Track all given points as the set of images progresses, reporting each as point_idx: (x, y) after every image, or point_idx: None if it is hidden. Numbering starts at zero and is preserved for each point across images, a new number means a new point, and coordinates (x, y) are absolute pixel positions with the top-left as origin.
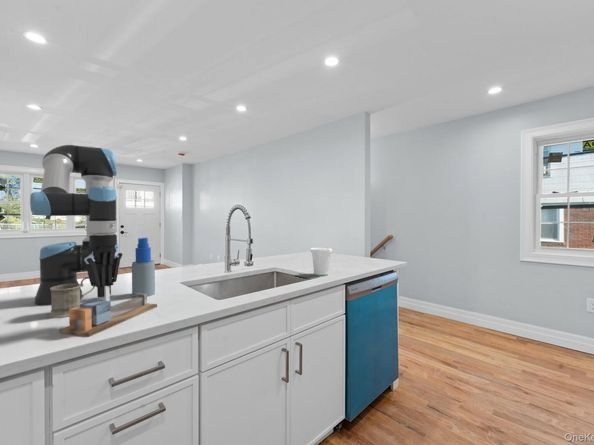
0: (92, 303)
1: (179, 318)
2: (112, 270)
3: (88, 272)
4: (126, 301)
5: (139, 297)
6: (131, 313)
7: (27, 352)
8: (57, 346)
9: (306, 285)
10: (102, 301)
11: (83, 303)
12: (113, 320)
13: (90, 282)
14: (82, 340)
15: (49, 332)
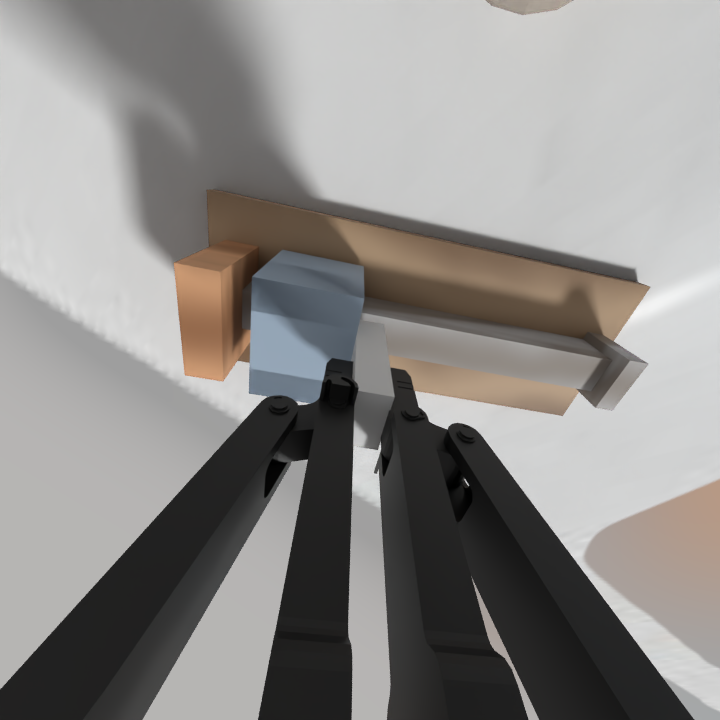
0: (284, 344)
1: None
2: (489, 559)
3: (151, 534)
4: (517, 352)
5: (590, 376)
6: (438, 380)
7: (28, 230)
8: (115, 302)
9: (661, 662)
10: None
11: (273, 287)
12: None
13: (244, 422)
14: None
15: (202, 119)
